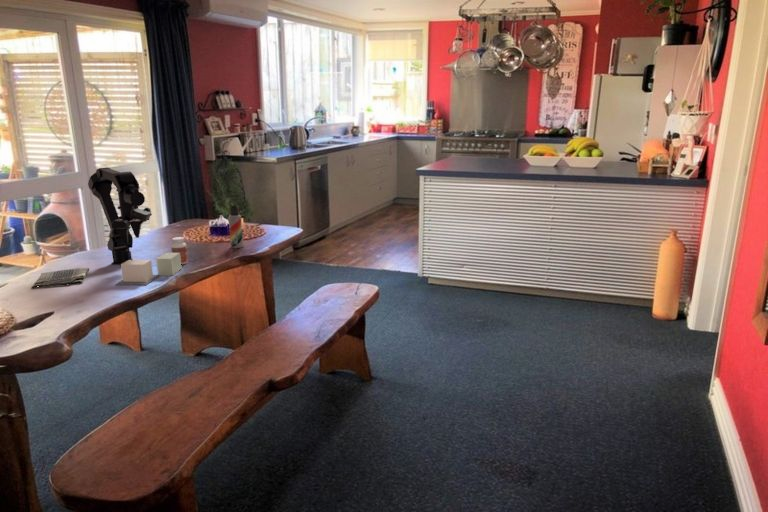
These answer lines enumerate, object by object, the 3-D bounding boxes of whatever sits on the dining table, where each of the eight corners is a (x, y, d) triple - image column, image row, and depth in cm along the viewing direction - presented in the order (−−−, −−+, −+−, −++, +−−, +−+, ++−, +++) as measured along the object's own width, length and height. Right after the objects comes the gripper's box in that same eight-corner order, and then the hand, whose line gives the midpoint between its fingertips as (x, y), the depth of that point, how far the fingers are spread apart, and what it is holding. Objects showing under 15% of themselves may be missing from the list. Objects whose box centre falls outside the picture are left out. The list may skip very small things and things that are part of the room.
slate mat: (115, 285, 214) (115, 284, 214) (131, 275, 225) (130, 274, 225) (146, 285, 213) (146, 284, 213) (160, 275, 225) (160, 274, 224)
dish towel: (41, 276, 226) (39, 269, 226) (90, 271, 232) (89, 264, 231) (31, 290, 210) (29, 282, 209) (84, 285, 216) (82, 277, 215)
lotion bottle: (231, 248, 264) (227, 206, 259) (230, 245, 270) (227, 204, 264) (243, 247, 266) (240, 206, 260) (243, 244, 271) (239, 204, 266)
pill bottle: (190, 263, 241) (187, 238, 238) (175, 265, 238) (172, 240, 235) (186, 260, 246) (183, 235, 243) (171, 262, 243) (168, 237, 240)
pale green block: (172, 275, 225) (170, 258, 223) (158, 275, 225) (156, 258, 223) (181, 268, 233) (180, 252, 231) (167, 268, 234) (165, 252, 232)
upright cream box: (123, 281, 216) (120, 264, 215) (131, 276, 222) (128, 259, 220) (146, 281, 216) (143, 264, 214) (153, 277, 222) (150, 260, 220)
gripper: (135, 207, 218) (140, 246, 222) (156, 199, 236) (161, 235, 240) (107, 207, 219) (113, 246, 223) (131, 199, 237) (135, 235, 241)
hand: (132, 240), depth 232 cm, fingers open, 9 cm apart
